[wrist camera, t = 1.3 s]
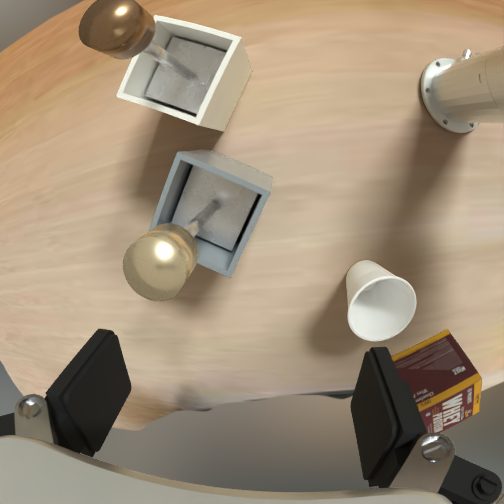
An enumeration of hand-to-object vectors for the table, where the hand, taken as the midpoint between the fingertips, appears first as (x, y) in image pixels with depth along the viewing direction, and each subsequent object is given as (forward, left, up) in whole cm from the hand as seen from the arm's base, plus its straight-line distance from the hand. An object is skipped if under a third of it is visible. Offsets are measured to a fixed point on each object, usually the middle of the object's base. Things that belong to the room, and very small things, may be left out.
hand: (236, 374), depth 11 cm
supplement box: (+16, +41, -37) cm, 57 cm away
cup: (+5, +19, -37) cm, 42 cm away
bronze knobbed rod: (-11, -15, -27) cm, 33 cm away
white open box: (-11, -15, -36) cm, 41 cm away
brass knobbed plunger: (+2, -6, -27) cm, 27 cm away
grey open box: (+2, -6, -36) cm, 37 cm away
